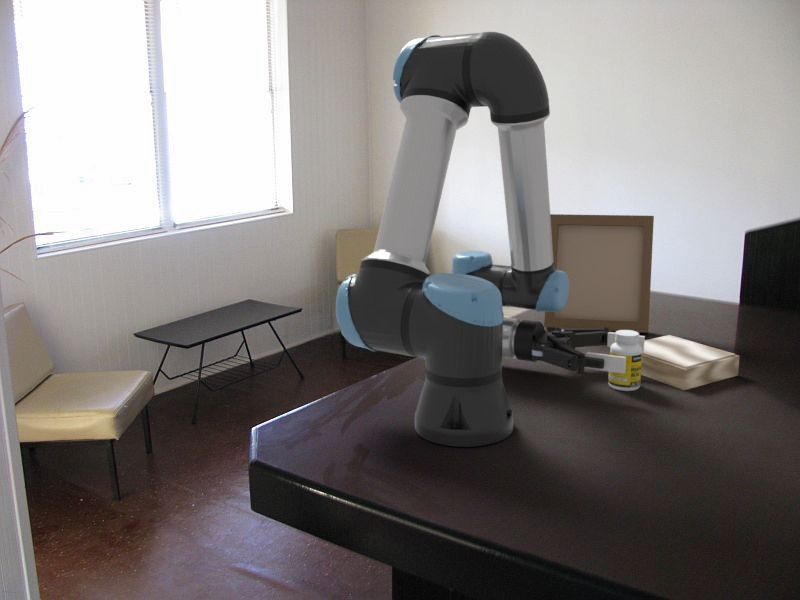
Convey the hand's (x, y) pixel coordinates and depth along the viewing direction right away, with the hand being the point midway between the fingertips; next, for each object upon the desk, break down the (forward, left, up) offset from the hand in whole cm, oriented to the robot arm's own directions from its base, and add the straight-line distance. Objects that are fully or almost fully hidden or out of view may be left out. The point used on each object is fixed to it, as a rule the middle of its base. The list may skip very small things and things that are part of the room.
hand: (635, 354), depth 138 cm
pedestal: (+13, +2, -6) cm, 14 cm away
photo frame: (+23, +33, -6) cm, 41 cm away
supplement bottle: (-1, +1, -6) cm, 6 cm away
